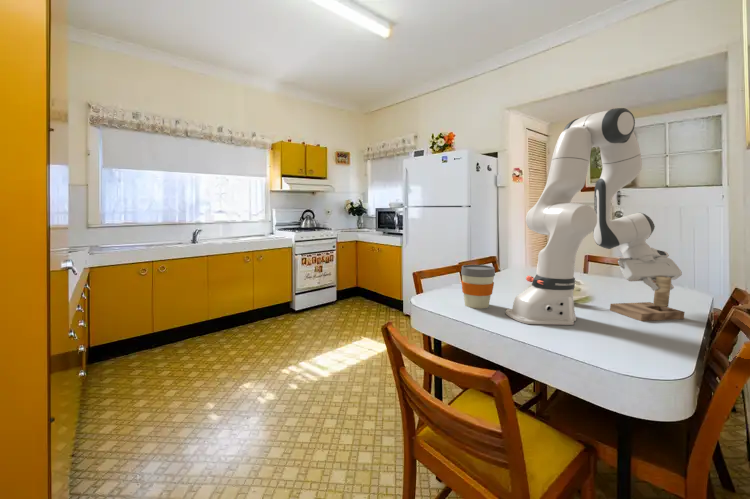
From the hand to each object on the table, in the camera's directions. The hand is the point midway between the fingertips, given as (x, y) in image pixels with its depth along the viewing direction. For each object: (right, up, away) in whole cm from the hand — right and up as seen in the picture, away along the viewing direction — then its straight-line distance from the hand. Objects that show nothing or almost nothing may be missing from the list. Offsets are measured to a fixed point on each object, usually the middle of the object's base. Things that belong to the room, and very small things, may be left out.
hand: (664, 289), depth 116 cm
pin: (0, -6, +1) cm, 6 cm away
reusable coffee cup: (-61, -8, +14) cm, 63 cm away
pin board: (-4, -9, +3) cm, 11 cm away
